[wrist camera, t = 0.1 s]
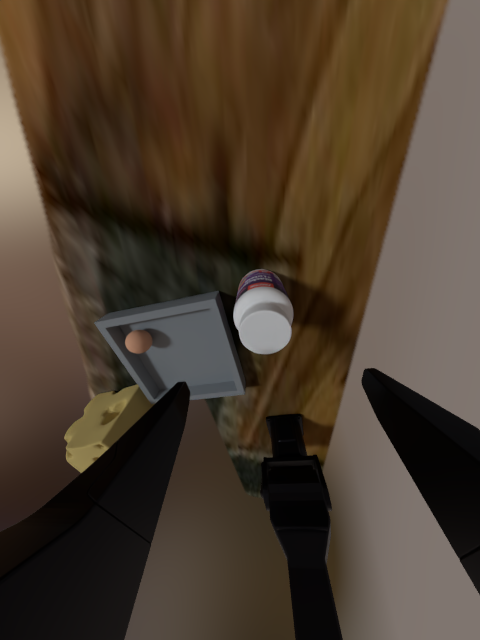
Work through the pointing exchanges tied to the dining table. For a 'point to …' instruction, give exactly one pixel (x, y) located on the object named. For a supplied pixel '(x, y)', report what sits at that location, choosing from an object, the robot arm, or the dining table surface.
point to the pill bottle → (263, 312)
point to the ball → (138, 341)
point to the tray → (179, 347)
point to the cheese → (104, 424)
